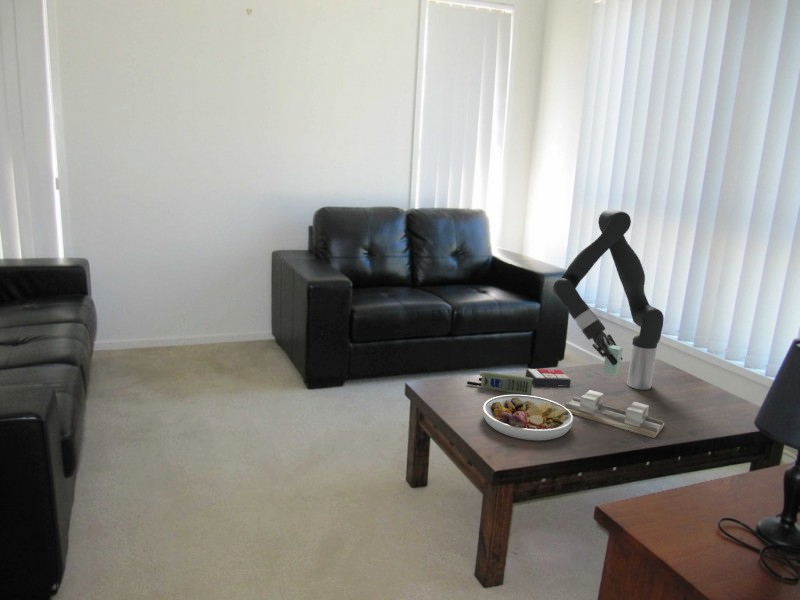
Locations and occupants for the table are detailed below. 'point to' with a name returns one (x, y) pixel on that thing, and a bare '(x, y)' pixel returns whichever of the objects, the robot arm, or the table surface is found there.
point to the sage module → (608, 366)
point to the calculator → (547, 377)
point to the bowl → (527, 417)
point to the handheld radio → (504, 383)
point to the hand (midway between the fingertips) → (618, 362)
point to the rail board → (615, 414)
